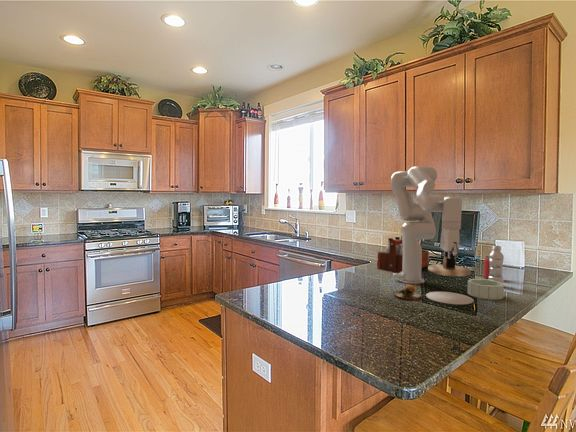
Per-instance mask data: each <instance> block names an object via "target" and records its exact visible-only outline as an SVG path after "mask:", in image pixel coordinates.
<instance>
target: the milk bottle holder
mask: <svg viewBox="0 0 576 432" xmlns="http://www.w3.org/2000/svg"><path fill="white" fill-rule="evenodd" d="M420 241H421V240H418V242H419V244H420V245H421V243H420ZM377 252H378V253H377V262H376V266H377V267H376V268H377V269H380V268H381V270H386V269H387V270H388V271H392V272H398V273H401V271H402V259H403V241H402V235H400V236H395V237H394V238H392V237H388V238H387V246H386V248H385V251H377ZM429 253H430V252H429V250H427V249H422V265H421V269H423V268H425V267H426V268H428V266H429V265H430V264H429V263H430V259H429V257H430V254H429ZM387 270H386V271H387Z"/></svg>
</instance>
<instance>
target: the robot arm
mask: <svg viewBox="0 0 576 432" xmlns="http://www.w3.org/2000/svg"><path fill="white" fill-rule="evenodd" d="M437 178H438V172H437V170H436V168H434V167H433V166H426V165H425V166H423V165H422V166H419V165H417V166H412V167H410V168H409V169H408V170H407V171H406V170H400V171H395V172H394V173H393V174H392V175H391V176H390V189H391V191H392V194H393V196H394V197H395V199H396V205H397V208H398V212H399V216H400V219H402V220H403V221H406V222H404V223H403V224H402V225H401V227H400V233H401V236H402V241H403V259H402V271H401V272H398V273H397V272H396V273H395V272H393V273H392V277H394V278H398V280H399V282H401V283H404V284H408V285H412V284H413V285H414V284H415V285H420V284H424V283H425V279H424V278H422V268H421V265H422V250H423V249H422V246H421V243H420V241H422V240H424V241H425V240H432V239H434V237H436V231H437V230H436V228H437V227H436V224H435V221H434V218H433V215H432V213H442V214H441V232H440V240H439V248H440V249H441V250H442V251H443V258H444V257H448V258H447V268H455V265H456V261H455V259H456V256H458V252H459V251H460V239H461V238H460V230H461V229H462V228H461V226H462V212H463V210H462V207H463V200H462V198H461V197H459V196H450V195H429V194H430V193H432V192H433V191H434V189H435V187H436V183H435V182H436V180H437ZM409 187H410V188H416V193H415V194H416V195H415V198H416V202H415V201H414V197H413V195H412V193H411V192H410V191H409V190H408V189H407V188H409ZM418 240H420V241H419V242H418ZM419 243H420V244H419Z"/></svg>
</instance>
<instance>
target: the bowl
mask: <svg viewBox="0 0 576 432" xmlns="http://www.w3.org/2000/svg"><path fill="white" fill-rule="evenodd" d="M466 289H467V290H466V291H467V292H466V293H467V294H468V296H471V297H474V298H478V299H484V300H501V299H502V300H503V299H504V294H505V293H504V291H505V290H504V289H505V283H504V282H503V283H501V282H498V281H494V280H488V279H485V278H471V279H468V280H467V288H466Z"/></svg>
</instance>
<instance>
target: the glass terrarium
mask: <svg viewBox="0 0 576 432" xmlns="http://www.w3.org/2000/svg"><path fill="white" fill-rule="evenodd" d="M393 295H395V296H396V297H397V298H399V299H401V300H402V301H407V300H409V301H410V300H412V301H418V300H422V294H421V293H419V292H416V288H415V287H414V285H412V284H406V287H405V288H403V289H402V290H397V291H394V292H393Z"/></svg>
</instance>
